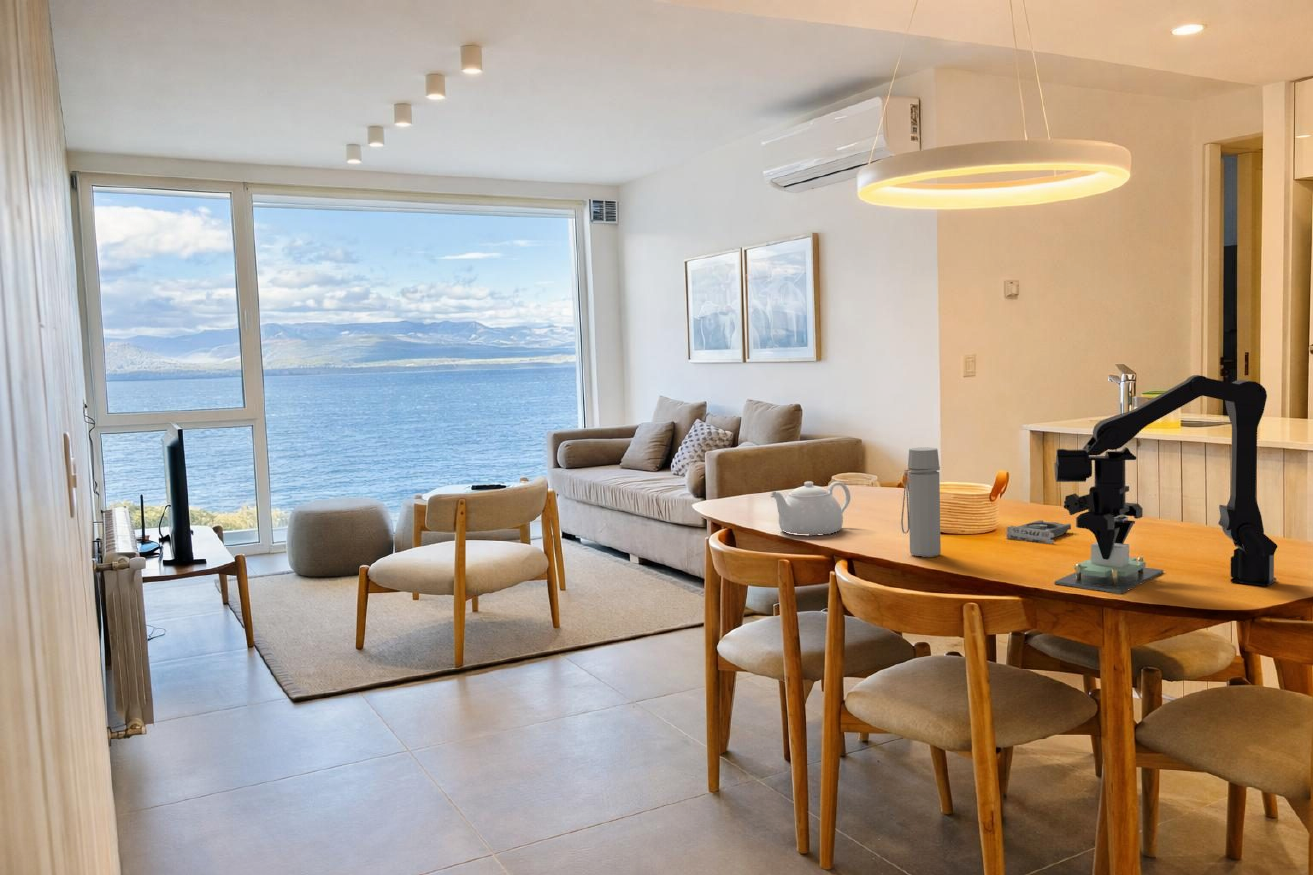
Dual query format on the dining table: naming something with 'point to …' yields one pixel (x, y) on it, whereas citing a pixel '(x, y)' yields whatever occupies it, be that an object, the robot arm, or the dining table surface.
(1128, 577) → the plate
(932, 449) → the water bottle
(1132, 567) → the board
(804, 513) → the teapot
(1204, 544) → the dining table surface
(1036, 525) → the graphics card
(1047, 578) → the dining table surface
